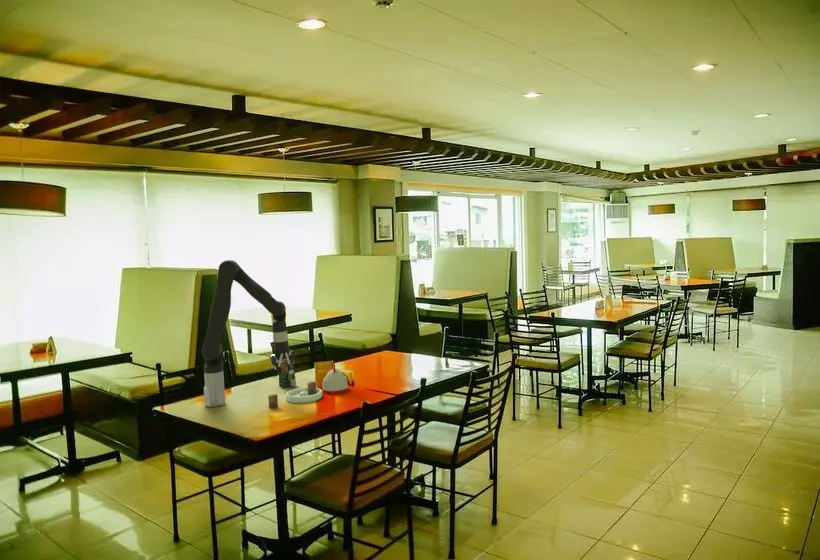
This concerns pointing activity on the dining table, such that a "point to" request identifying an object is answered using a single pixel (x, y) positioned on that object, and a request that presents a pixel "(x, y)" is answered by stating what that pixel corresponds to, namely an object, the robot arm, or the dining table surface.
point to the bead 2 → (311, 388)
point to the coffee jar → (288, 377)
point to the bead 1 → (284, 367)
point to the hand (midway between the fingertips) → (283, 372)
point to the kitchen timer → (335, 382)
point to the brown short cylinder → (273, 401)
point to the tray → (303, 399)
